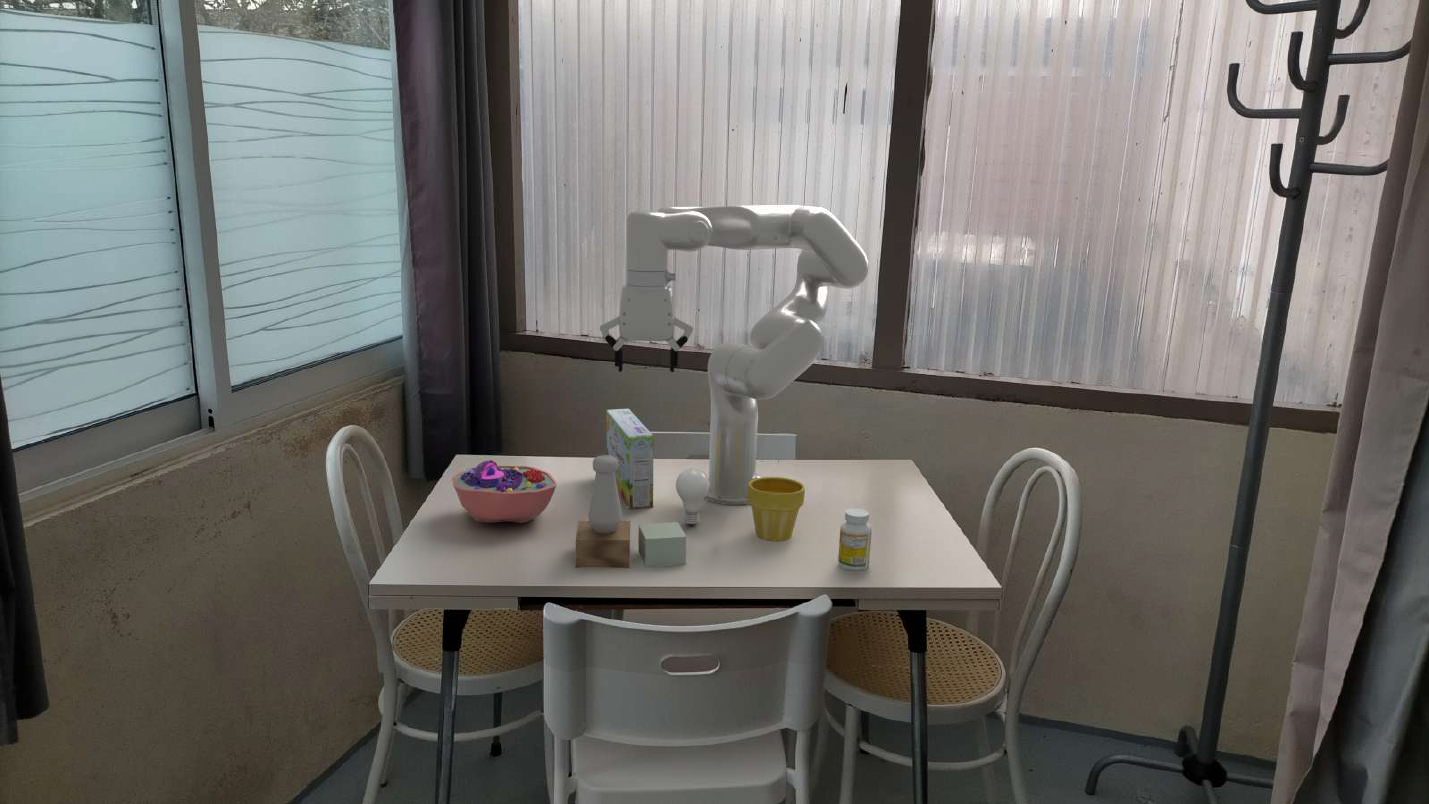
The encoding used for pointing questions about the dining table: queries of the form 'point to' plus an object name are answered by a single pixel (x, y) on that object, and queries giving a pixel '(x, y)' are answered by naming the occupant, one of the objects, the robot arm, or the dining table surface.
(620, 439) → the snack box
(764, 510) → the plant pot
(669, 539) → the sage block
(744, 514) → the dining table surface
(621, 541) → the walnut block
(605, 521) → the salt shaker
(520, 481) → the cell model
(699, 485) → the lightbulb
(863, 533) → the supplement bottle
